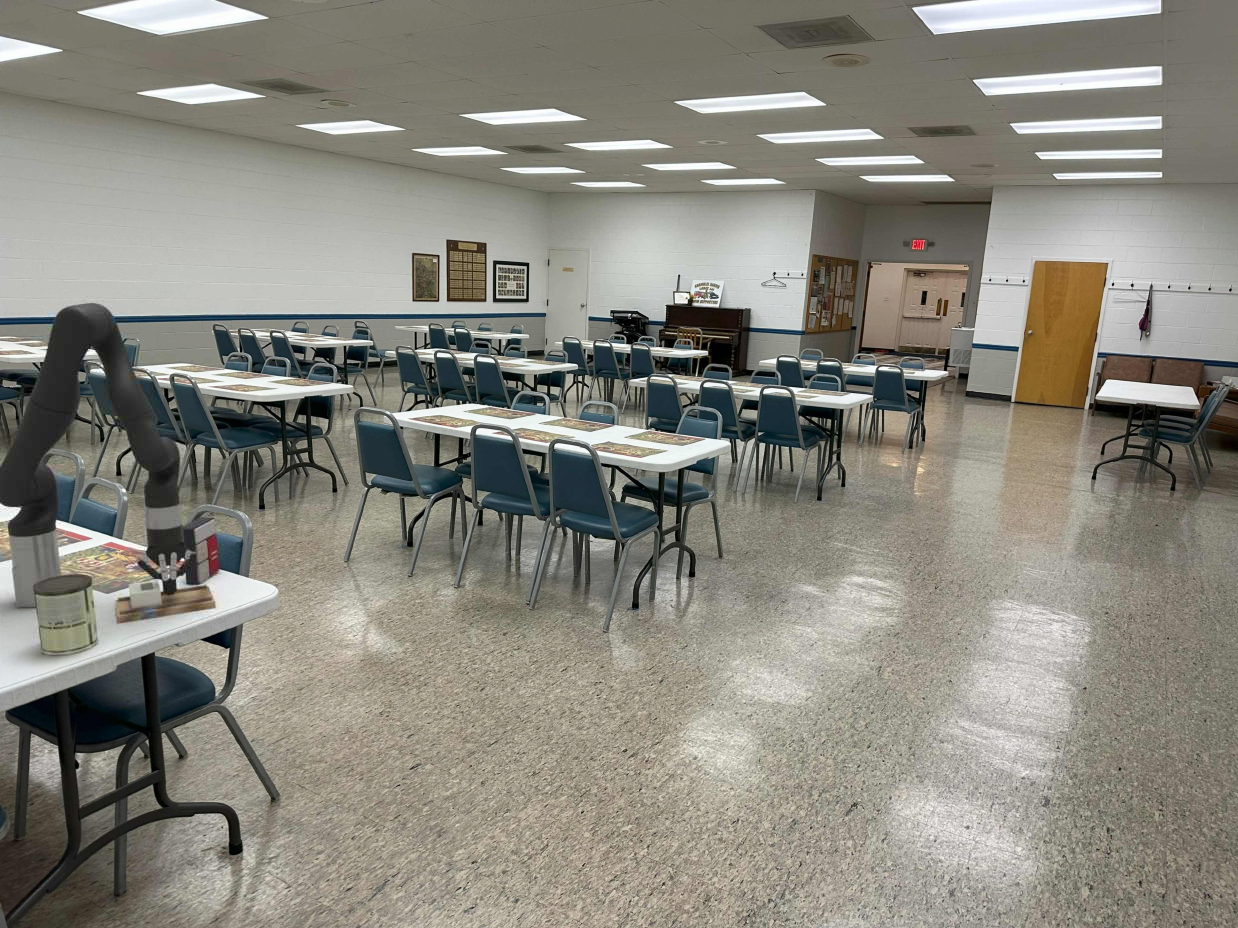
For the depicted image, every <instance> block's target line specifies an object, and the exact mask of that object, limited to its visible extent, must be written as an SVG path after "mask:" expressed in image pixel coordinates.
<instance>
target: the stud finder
mask: <svg viewBox="0 0 1238 928" xmlns="http://www.w3.org/2000/svg"><path fill="white" fill-rule="evenodd" d="M128 589H129V590H128V591H129V596H130V601H131V607H132V609H134V608H140V607H147V606H153V605H160V604H162V601H161V591H162V590H161V588H160V583H159V579H154V580H148V581H141V582H134V583H128Z"/></svg>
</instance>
